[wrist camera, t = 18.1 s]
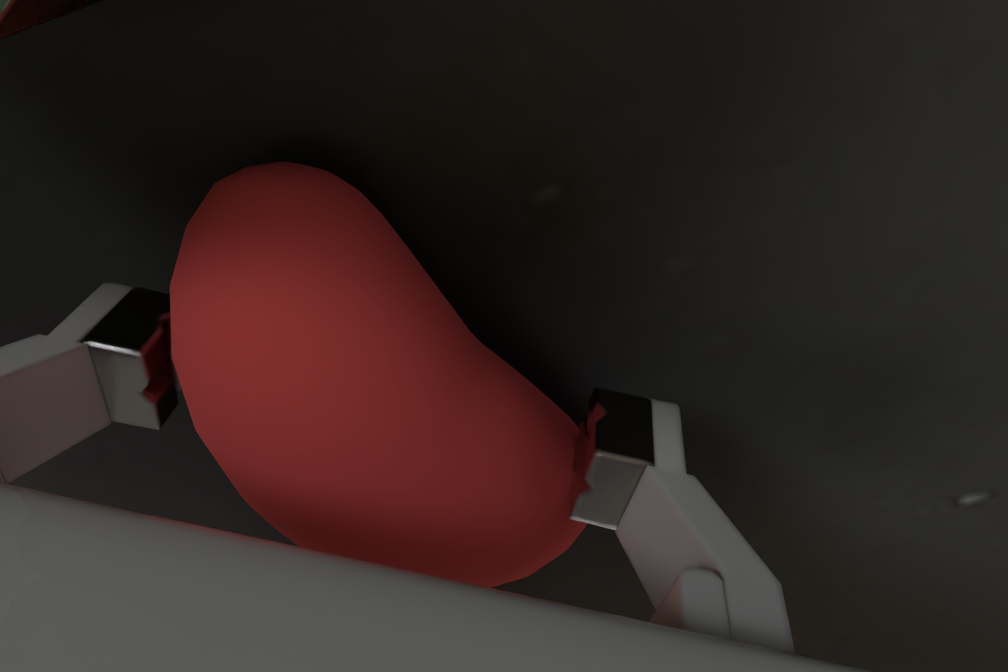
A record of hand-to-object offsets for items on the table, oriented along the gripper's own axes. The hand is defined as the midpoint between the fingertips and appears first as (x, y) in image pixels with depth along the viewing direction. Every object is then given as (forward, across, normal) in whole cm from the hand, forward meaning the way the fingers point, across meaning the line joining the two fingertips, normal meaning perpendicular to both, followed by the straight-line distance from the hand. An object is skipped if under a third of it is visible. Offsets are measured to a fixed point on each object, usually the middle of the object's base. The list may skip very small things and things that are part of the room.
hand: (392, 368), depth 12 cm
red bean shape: (+2, 0, +1) cm, 2 cm away
